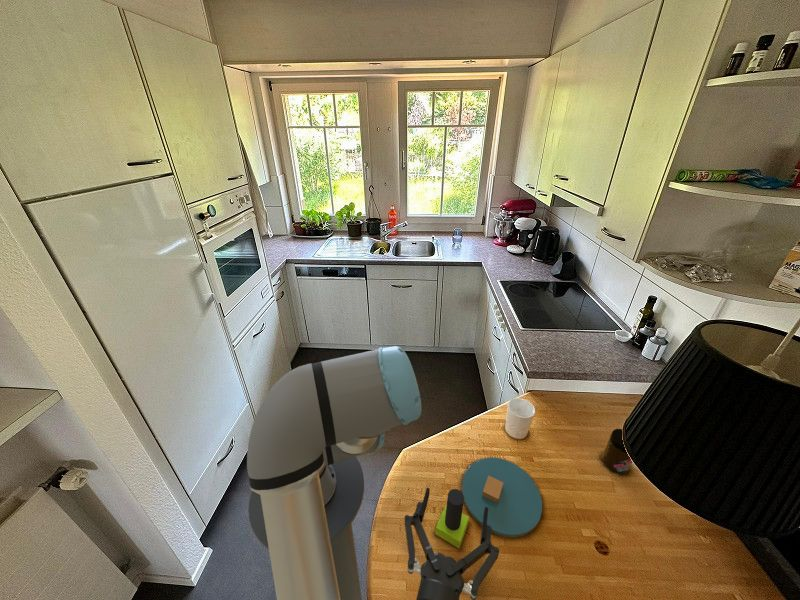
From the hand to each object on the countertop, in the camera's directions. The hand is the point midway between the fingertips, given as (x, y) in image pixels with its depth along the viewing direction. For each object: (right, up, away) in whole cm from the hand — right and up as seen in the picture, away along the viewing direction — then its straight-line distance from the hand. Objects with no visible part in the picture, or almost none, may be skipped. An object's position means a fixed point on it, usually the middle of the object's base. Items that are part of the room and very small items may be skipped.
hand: (456, 500), depth 75 cm
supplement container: (+48, 0, +17) cm, 51 cm away
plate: (+13, -4, +9) cm, 16 cm away
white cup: (+24, +5, +27) cm, 36 cm away
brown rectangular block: (+11, -3, +9) cm, 14 cm away
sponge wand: (-1, -8, +2) cm, 8 cm away
